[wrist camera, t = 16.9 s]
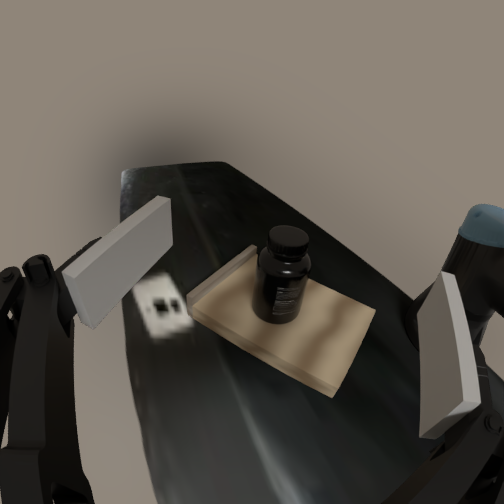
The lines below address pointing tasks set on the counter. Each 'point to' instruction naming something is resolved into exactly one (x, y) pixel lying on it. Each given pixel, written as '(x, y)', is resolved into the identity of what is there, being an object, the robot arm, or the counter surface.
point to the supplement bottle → (281, 275)
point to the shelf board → (284, 325)
